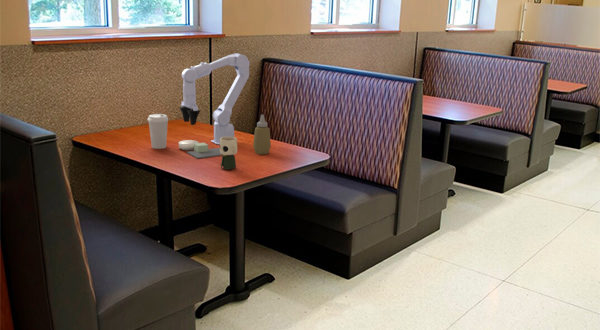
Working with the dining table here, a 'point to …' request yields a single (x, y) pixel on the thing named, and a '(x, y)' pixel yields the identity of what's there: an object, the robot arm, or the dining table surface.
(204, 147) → the pale green square block
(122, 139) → the dining table surface
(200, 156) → the mat
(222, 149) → the character mug
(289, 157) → the dining table surface
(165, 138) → the coffee cup
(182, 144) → the white shallow dome
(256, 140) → the squeeze bottle
